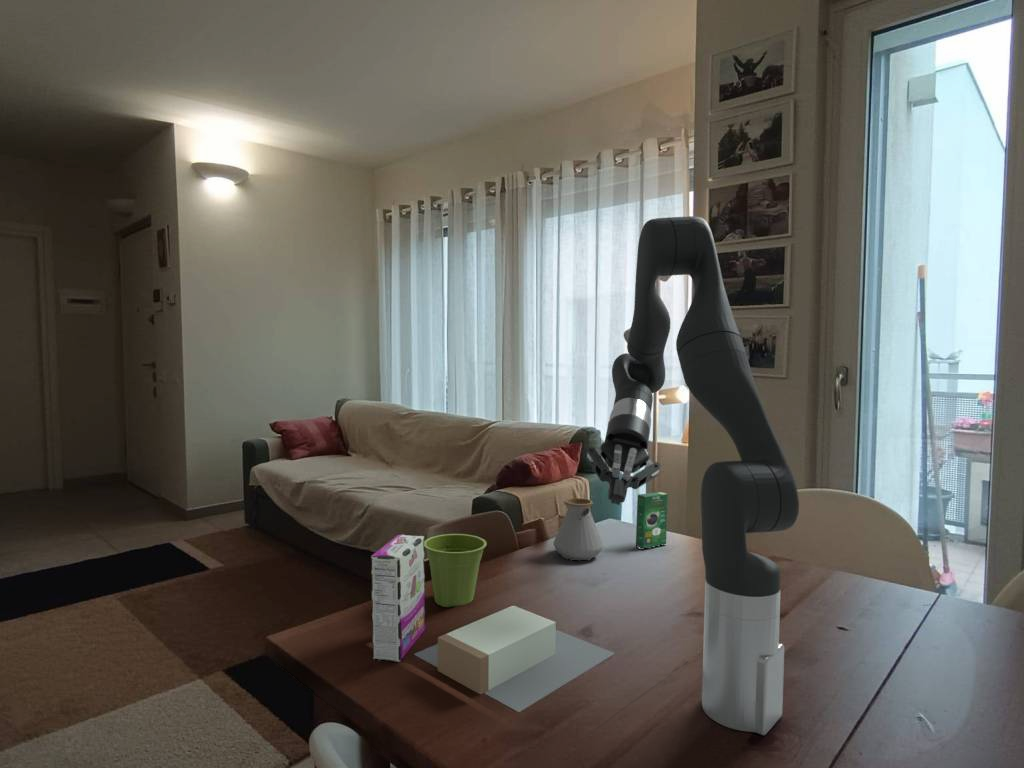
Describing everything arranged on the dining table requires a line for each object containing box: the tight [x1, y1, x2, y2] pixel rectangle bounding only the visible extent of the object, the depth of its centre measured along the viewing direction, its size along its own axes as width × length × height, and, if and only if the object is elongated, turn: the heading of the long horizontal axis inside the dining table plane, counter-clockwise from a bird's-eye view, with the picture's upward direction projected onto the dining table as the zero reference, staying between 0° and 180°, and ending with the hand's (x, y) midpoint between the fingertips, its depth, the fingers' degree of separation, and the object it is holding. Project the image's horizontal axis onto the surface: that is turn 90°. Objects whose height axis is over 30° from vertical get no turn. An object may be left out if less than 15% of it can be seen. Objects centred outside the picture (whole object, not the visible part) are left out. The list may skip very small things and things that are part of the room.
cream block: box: [437, 605, 557, 696], centre depth 93 cm, size 9×5×16 cm
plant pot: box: [424, 533, 487, 608], centre depth 117 cm, size 12×12×11 cm
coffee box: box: [635, 491, 669, 550], centre depth 151 cm, size 8×3×13 cm, turn 122°
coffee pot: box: [553, 497, 604, 561], centre depth 139 cm, size 21×12×15 cm, turn 0°
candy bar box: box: [370, 534, 426, 663], centre depth 99 cm, size 11×5×16 cm, turn 168°
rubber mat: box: [413, 629, 616, 713], centre depth 96 cm, size 22×22×1 cm
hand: (616, 500), depth 99 cm, fingers closed
